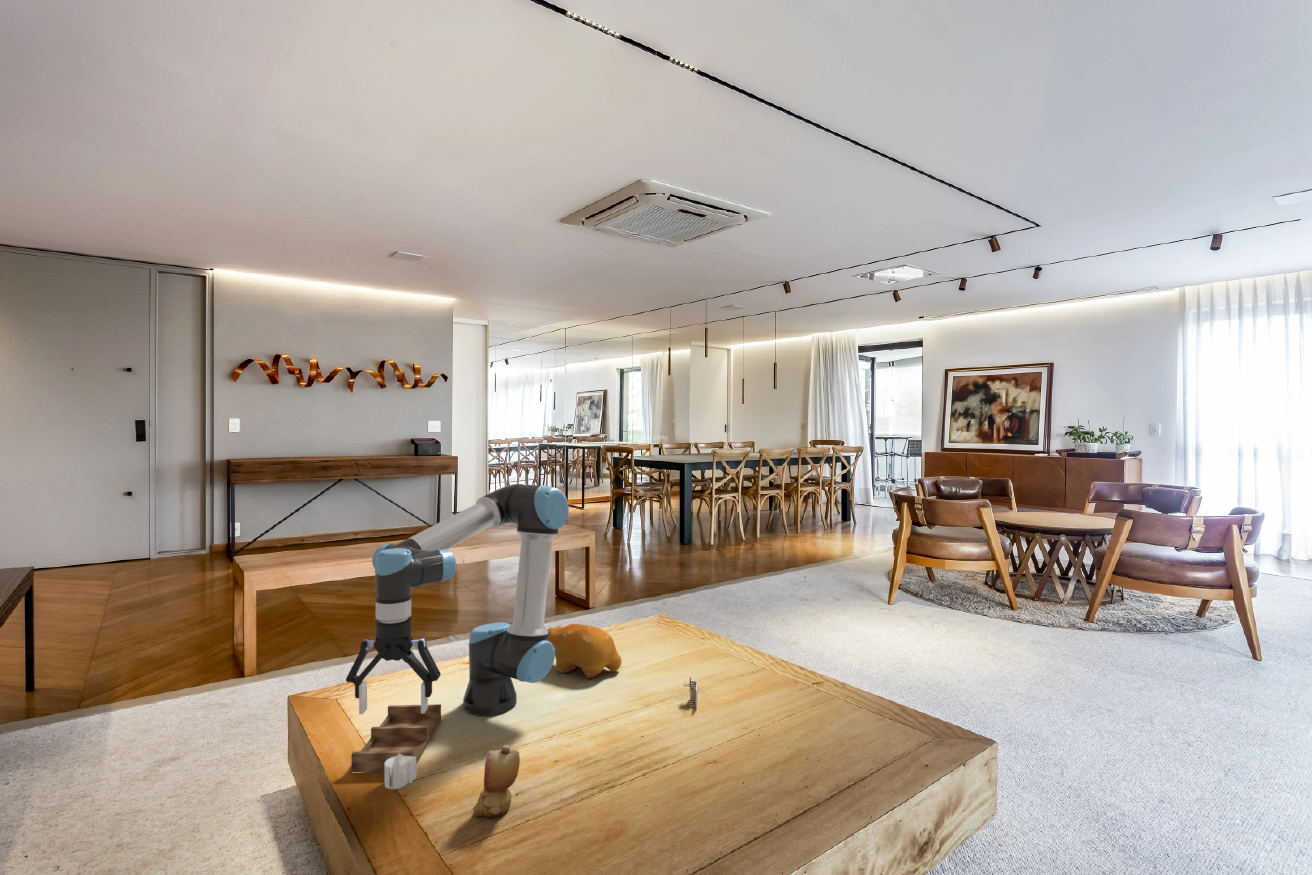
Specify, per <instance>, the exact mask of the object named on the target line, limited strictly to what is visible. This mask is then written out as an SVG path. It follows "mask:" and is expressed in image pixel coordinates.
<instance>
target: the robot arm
mask: <svg viewBox="0 0 1312 875" xmlns="http://www.w3.org/2000/svg"><path fill="white" fill-rule="evenodd" d="M569 514H570V508H569V501H568V499H567V496H565V493H564V492H563V491H562V490H561V489H559V488H557V487H555V486H549V485H537V484H536V485H535V484H523V483H515V484H509V485H507V486H504V487H500V488H498V489H496V490H494V491H492V492H489V493H487V494H486V495H483V496H481V497H479V498H478V499H477V501H476V502H475V504H473V505H472V506H469V507H467V508H465V509H463V510H462V511H459V512H457V513H455V514H454V515H451V516H450V517H448V518H445V519H444V520H442V521H440V522H437V523H436V524H434V525H432V526H430V527H428V528H427V529H424V530H422V531H420V532H418V533H416V534H414V535H412V536H410V537H409V538H407V539H405V540H402V541H400V542H399V543H396V544H394V543H387V544H386V543H385V544H382V545H380V546H378V547H377V548H376V549H375V551H374V553H373V554H372V557H371V563H372V567H373V568H374V574H375V619H376V622H375V640H371V639H370V638H369V637H367V638H365V639H364V640H362V642H361V643H360V648H359V653H358V654H357V656H356V658H355V661H354V662H353V665H351V668H350V670H349V672H348V674H347V676H346V678H345V681H346V682H347V683H352V684H353V685H354V698H355V699H359V700H358V715H364V714H365V712H366V711H367V710H368V681H367V680H364V679H365V678H366V677H367V676H368V675H369V674H370V672H371V671H373V669H374V668H375V667H376V665H377V664H378V663H380V661H381V660H382V659H383V660H385V662H386V661H387V662H388V661H397V662H398V661H401V660H402V661H403V662H404V663H406V664H408V666H409V667H410V668H411V669H412V671H414V673H415V674H416V675H417V676H418V677H419V679H421V680H422V683H421V684H420V705H421V713H425V712H426V710H427V709H428V705H429V702H428V701H429V700H428V698H430V697H431V696H432V694H433V682H436V681H438V680H439V678H440V677H441V675H442V674H441V672H440V669H439V667H438V665H437V664H436V662H435V660H434V658H433V656H432V654H431V652H430V650H429V648H428V645H427V639H426V637H424V636H423V637H421V638H420V639H413V637H412V618H411V616H412V594H413V593H412V591H413V589H415V588H419V587H422V586H423V587H424V586H427V585H431V584H436V583H442V582H444V581H447V580H449V579H451V578H453V576H454V575H455V573H456V572H457V571H456V570H457V560H456V559H457V558H456V556H455V555H454V553H453V551H451V550H449V549H451V548H454V547H455V546H457V545H458V544H461V543H463V542H464V541H466V540H468V539H470V538H471V537H473V536H475V535H477V534H479V533H481V532H483V531H485V530H486V529H495V528H497V527H499V526H502V525H508V524H515V525H517V526H516V533H517V534H518V535H519V536H520V538H521V539H520V540H521V542H520V549H519V550H520V551H519V559H518V561H519V562H518V570H517V579H516V590H515V598H514V609H513V610H514V611H513V618H512V619H513V620H512V624H511V625H510V623H507V622H492V623H486V624H482V625H479V626H476V627H474V628H473V629H472V630H470V633H469V638H468V639H469V642H468V666H469V667H468V668H469V669H468V670H469V674H468V675H469V678H468V679H469V680H468V683H467V685H466V686H467V687H466V690H465V693H464V696H463V699H462V708H463V710H464V711H465V712H466V713H468V714H470V715H474V716H494V715H499V714H503V713H505V712H508V711H510V710H511V709H513V708H514V707H516V705H517V700H518V699H517V696H518V695H517V691H516V689H515V686H514V682H513V680H512V679H514V680H517V681H519V682H522V683H524V682H525V683H530V684H534V683H538V682H540V681H542V680H543V679H544V678H546V677H547V675H548V673H550V671H551V669H552V667H553V665H554V662H555V660H556V657H555V648H554V647H553V644H552V643H550V641H548V629H547V628H546V627H545V615H546V604H547V595H548V583H549V574H550V566H551V565H550V564H551V555H552V545H553V544H552V543H553V540H554V539H555V538H556V537H557V536H559V529H561V528H562V527H564V525H565V524H566V522H567V521H568V519H569ZM373 647H374V649H375V650H376V652H377V654H376V656H374V658H373V659H372V660H371V661H370V663H368V665H366V667H365V668H364V669H363V671H361V673H360V674H359V675H358V673H359V670H360V669H361V666H362V664H363V662H364V661H365V659H366V657H367V655H368V653H369V651H370V650H371V649H372V648H373ZM413 647H414V648H415V650H417V651H418V654H419V657H420V658H421V660H422V662H423V664H424V665H423V664H422V663H421V661H420V660H419V659H418V657H417V656H416V655H415V653H414V652H413V651H412V648H413Z"/></svg>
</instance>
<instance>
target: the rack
mask: <svg viewBox="0 0 1312 875" xmlns="http://www.w3.org/2000/svg"><path fill="white" fill-rule="evenodd" d="M441 722H442V704H441V703H438V704H428V709H427V710H426V712H425V713H421V704H406V705H405V704H404V705H403V704H401V705H399V704H397V705H396V704H394V705H392V704H391V705H388V706H387V716H386V717H385V718H384V720H383V721H382V723H381V724H380V725H379V726H372V727H371V728H370V739H369V740H368V741H367V742H366V744H365V745H364V746H363V748H362V749H361V750H360V751H352V752H351V756H350V758H351V773H352V772H365V773H364V774H381V773H382V774H385V768H384V764H385V761H386V760H388V759H389V758H392V757H395V756H397V755H398V754H399V753H400V754H401V755H403V756H415V757H416V766H417V765H418V763H419V762H420V760H421V757H422V756H423V754H424V752H425V751H426V749H427V747H428V746H429V743H430V742H431V740H432V738H433V736H434V735H435V733H436V731H437V729H438V728H439V726H440V724H441Z"/></svg>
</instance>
